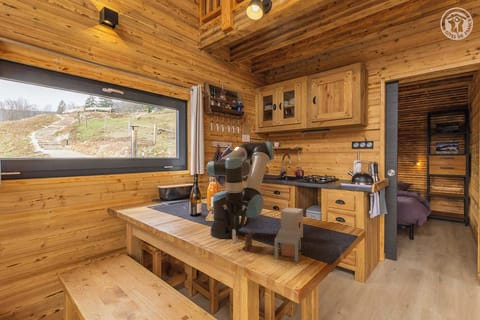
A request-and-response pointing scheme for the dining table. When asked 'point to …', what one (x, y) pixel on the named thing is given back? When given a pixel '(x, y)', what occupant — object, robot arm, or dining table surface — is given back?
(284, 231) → the tunnel
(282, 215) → the supplement box
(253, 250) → the sled
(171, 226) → the dining table surface
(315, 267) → the dining table surface
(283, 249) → the block
